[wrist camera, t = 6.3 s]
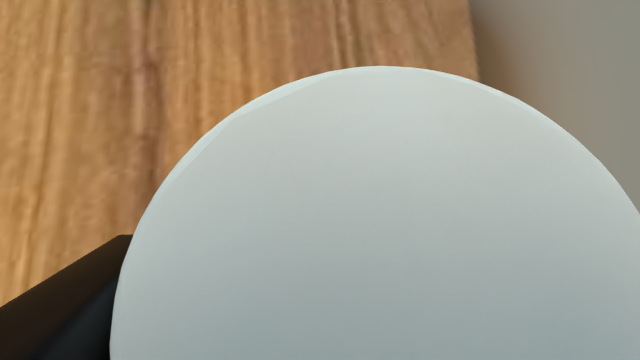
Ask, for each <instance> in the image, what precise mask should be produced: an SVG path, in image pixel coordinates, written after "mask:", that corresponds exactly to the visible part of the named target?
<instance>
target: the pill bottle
mask: <svg viewBox="0 0 640 360" xmlns="http://www.w3.org/2000/svg"><path fill="white" fill-rule="evenodd" d="M110 360H640V214H639V212H638V211H637V209H636V208H635V206H634V205H633V204H632V202H631V200H630V199H629V198H628V196H627V195H626V193H625V192H624V191H623V189H622V188H621V187H620V185H619V184H618V182H617V181H616V179H615V178H614V177H613V176H612V175H611V174H610V173H609V172H608V170H607V169H606V168H605V167H604V166H603V164H602V163H601V162H600V161H599V160H598V159H597V158H596V157H595V156H593V154H591V153H590V152H589V151H588V150H587V149H586V148H585V147H584V146H583V145H582V144H581V143H580V142H579V141H578V140H576V139H575V138H574V137H573V136H572V135H570V134H569V133H568V132H567V131H565V130H564V129H563V128H561V127H560V126H559V125H557V124H556V123H555V122H553V121H552V120H550V119H549V118H548V117H546V116H545V115H543V114H541V113H540V112H539V111H537V110H536V109H534V108H532V107H530V106H529V105H527V104H525V103H524V102H522V101H520V100H519V99H516V98H514V97H512V96H510V95H507V94H505V93H503V92H501V91H498V90H496V89H494V88H491V87H489V86H486V85H483V84H481V83H478V82H475V81H473V80H470V79H467V78H464V77H461V76H456V75H452V74H448V73H443V72H439V71H433V70H427V69H419V68H410V67H394V66H369V67H355V68H349V69H342V70H336V71H330V72H325V73H322V74H318V75H314V76H310V77H307V78H303V79H300V80H297V81H294V82H291V83H288V84H285V85H283V86H281V87H279V88H277V89H274V90H272V91H270V92H268V93H266V94H264V95H262V96H260V97H258V98H256V99H254V100H253V101H251V102H249V103H248V104H246V105H244V106H243V107H241V108H239V109H238V110H236V111H235V112H233V113H232V114H231V115H229V116H228V117H226V118H225V119H223V120H222V121H221V122H220V123H218V124H217V125H216V126H215V127H214V128H212V129H211V130H210V131H209V132H208V133H206V134H205V135H204V136H203V137H202V138H200V139H199V140H198V141H197V142H196V143H195V145H194V146H193V147H192V148H191V149H190V150H189V151H188V152H187V153H186V154H185V155H184V156H183V157H182V159H181V160H180V161H179V162H178V163H177V164H176V165H175V167H174V168H173V169H172V171H171V172H170V173H169V175H168V176H167V177H166V179H165V180H164V181H163V183H162V184H161V186H160V187H159V189H158V190H157V192H156V193H155V195H154V196H153V198H152V200H151V202H150V204H149V205H148V207H147V209H146V211H145V212H144V214H143V216H142V218H141V220H140V222H139V224H138V226H137V228H136V231H135V233H134V235H133V238H132V240H131V243H130V246H129V248H128V251H127V254H126V256H125V259H124V262H123V264H122V267H121V272H120V276H119V281H118V285H117V290H116V294H115V300H114V307H113V315H112V325H111V335H110Z"/></svg>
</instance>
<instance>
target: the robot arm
mask: <svg viewBox="0 0 640 360" xmlns="http://www.w3.org/2000/svg"><path fill="white" fill-rule="evenodd" d="M132 238H133V235H118V236H116V237H115V238H113V239H111V240H110V241H108V242H107V243H105V244H103V245H102V246H100V247H98V248H97V249H95V250H93V251H92V252H90V253H89V254H87V255H85V256H84V257H82V258H80V259H79V260H77V261H75V262H74V263H72V264H71V265H69V266H67V267H66V268H64V269H62V270H61V271H59V272H57V273H56V274H54V275H53V276H51V277H49V278H48V279H46V280H44V281H43V282H41V283H39V284H38V285H36V286H34V287H33V288H31V289H30V290H28V291H26V292H25V293H23V294H21V295H20V296H18V297H16V298H15V299H13V300H12V301H10V302H8V303H7V304H5V305H3V306H2V307H0V360H110V335H111V325H112V315H113V307H114V300H115V294H116V290H117V285H118V281H119V276H120V272H121V267H122V264H123V262H124V259H125V256H126V254H127V251H128V248H129V246H130V243H131V240H132Z"/></svg>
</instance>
